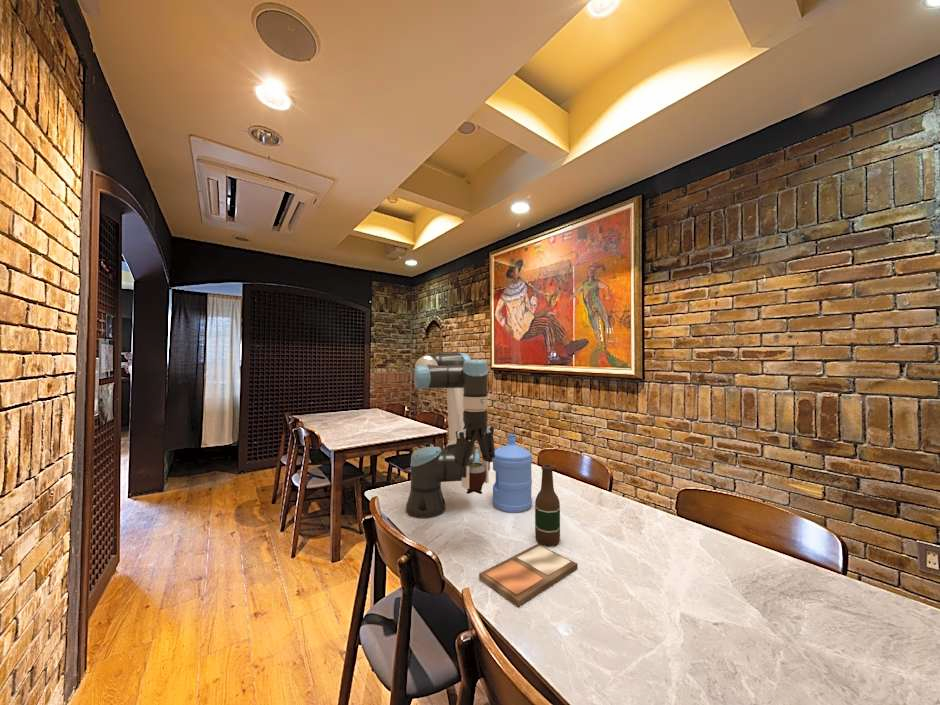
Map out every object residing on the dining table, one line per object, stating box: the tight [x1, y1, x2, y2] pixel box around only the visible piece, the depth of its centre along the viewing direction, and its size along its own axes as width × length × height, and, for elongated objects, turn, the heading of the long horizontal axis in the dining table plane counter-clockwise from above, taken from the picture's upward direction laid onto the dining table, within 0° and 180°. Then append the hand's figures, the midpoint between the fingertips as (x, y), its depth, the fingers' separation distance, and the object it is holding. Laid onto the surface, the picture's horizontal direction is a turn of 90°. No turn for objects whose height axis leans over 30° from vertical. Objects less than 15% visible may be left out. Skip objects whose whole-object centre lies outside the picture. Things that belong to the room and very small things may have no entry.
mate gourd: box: [466, 446, 486, 495], centre depth 110 cm, size 8×8×15 cm
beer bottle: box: [534, 464, 561, 548], centre depth 115 cm, size 8×8×24 cm
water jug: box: [491, 433, 533, 513], centre depth 144 cm, size 16×16×28 cm
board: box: [478, 543, 578, 608], centre depth 97 cm, size 14×24×2 cm, turn 130°
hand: (475, 484), depth 110 cm, fingers closed on mate gourd, 7 cm apart
